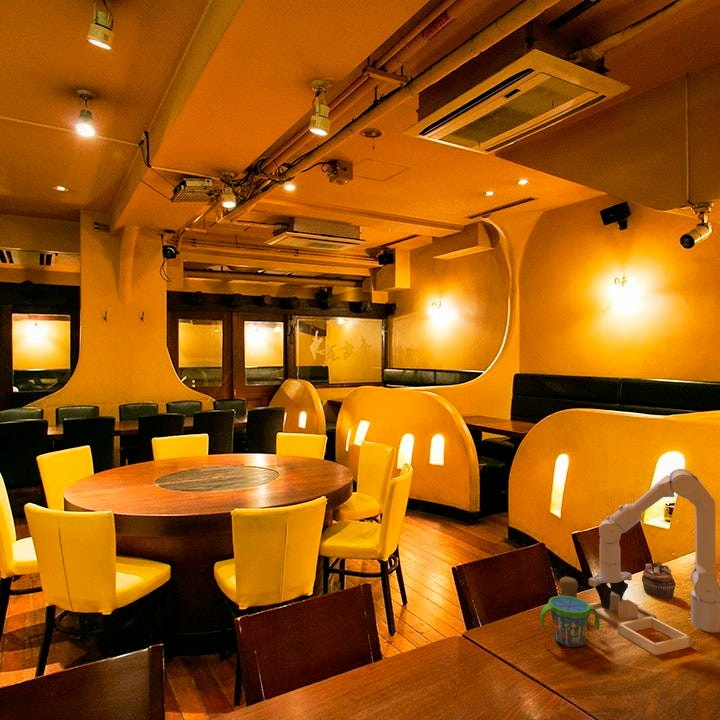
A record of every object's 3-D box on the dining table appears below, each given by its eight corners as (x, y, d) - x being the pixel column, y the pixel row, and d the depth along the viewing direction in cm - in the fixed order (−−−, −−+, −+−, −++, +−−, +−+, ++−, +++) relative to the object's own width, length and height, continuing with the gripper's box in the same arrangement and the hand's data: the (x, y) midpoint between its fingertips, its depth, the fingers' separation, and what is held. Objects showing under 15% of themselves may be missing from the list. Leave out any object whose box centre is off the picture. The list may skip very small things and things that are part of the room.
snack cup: (593, 632, 147) (592, 595, 147) (607, 653, 137) (606, 613, 137) (535, 630, 149) (534, 594, 149) (545, 650, 138) (544, 611, 138)
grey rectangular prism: (611, 605, 161) (610, 590, 161) (620, 610, 158) (620, 595, 158) (601, 607, 160) (601, 592, 160) (610, 612, 156) (610, 597, 157)
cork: (574, 610, 160) (574, 574, 160) (583, 620, 154) (583, 582, 154) (555, 611, 160) (554, 574, 160) (563, 620, 154) (562, 582, 154)
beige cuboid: (627, 614, 155) (627, 599, 155) (638, 620, 152) (637, 604, 152) (618, 616, 154) (618, 601, 154) (628, 622, 150) (627, 606, 150)
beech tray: (620, 604, 164) (620, 597, 164) (656, 623, 152) (656, 616, 152) (584, 611, 160) (584, 604, 160) (618, 631, 147) (617, 624, 147)
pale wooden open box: (651, 628, 149) (651, 616, 149) (690, 650, 137) (690, 636, 137) (618, 636, 145) (617, 623, 145) (655, 659, 133) (655, 645, 133)
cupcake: (634, 592, 173) (634, 561, 173) (658, 587, 176) (657, 557, 176) (659, 604, 164) (658, 572, 164) (683, 600, 167) (682, 568, 167)
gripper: (618, 553, 165) (619, 597, 165) (580, 559, 160) (581, 604, 160) (637, 561, 158) (638, 607, 158) (598, 568, 154) (599, 615, 154)
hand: (610, 606), depth 159 cm, fingers closed on grey rectangular prism, 4 cm apart
